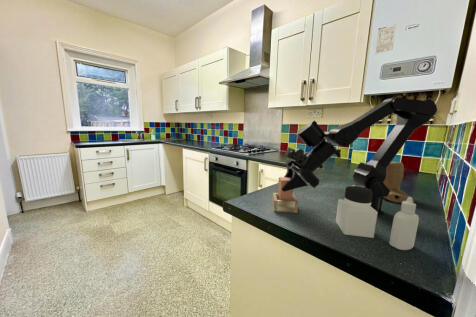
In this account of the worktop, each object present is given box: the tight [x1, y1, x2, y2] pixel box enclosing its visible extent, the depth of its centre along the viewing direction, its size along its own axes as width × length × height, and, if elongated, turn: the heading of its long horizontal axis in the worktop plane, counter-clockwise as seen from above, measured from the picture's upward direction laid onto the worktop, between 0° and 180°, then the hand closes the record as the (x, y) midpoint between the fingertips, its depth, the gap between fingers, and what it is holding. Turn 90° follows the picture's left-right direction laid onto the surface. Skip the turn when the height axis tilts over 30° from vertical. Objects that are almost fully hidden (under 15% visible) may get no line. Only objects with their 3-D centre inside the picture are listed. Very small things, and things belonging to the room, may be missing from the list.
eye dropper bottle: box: [389, 196, 420, 251], centre depth 44 cm, size 4×6×12 cm
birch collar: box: [271, 192, 299, 214], centre depth 65 cm, size 8×8×4 cm
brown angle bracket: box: [383, 161, 415, 204], centre depth 77 cm, size 15×12×15 cm
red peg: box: [277, 176, 294, 201], centre depth 64 cm, size 4×4×10 cm
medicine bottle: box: [335, 184, 379, 239], centre depth 51 cm, size 7×7×12 cm
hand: (281, 188), depth 64 cm, fingers closed on red peg, 4 cm apart
